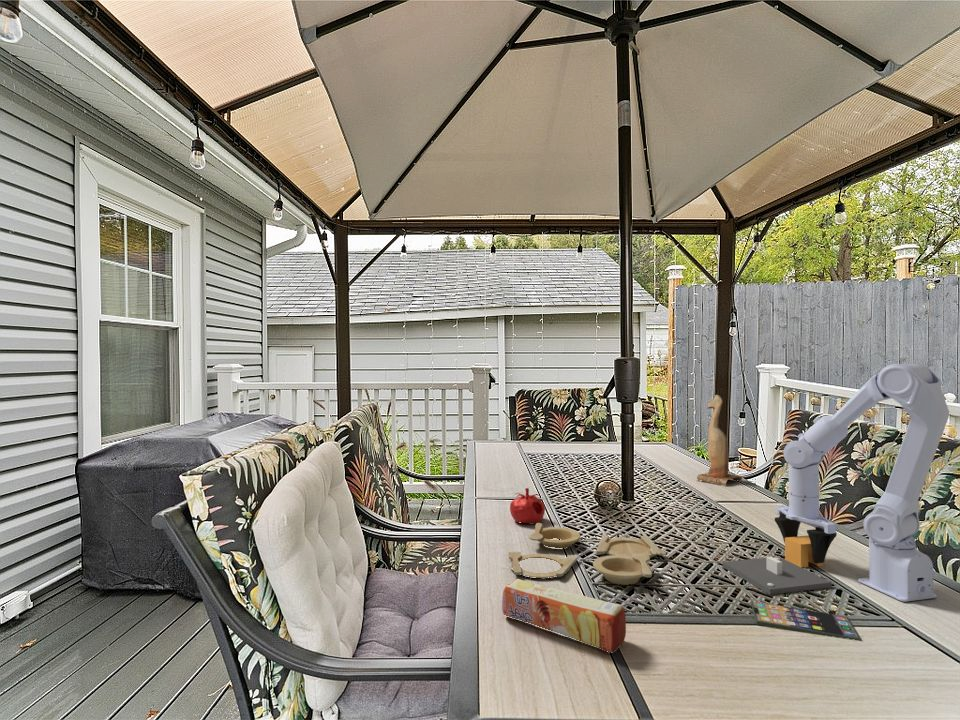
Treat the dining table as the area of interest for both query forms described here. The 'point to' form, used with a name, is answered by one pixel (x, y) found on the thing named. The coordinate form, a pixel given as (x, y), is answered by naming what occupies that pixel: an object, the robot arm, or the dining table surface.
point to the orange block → (799, 551)
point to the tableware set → (616, 568)
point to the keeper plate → (776, 575)
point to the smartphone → (803, 620)
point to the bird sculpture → (717, 449)
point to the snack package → (566, 613)
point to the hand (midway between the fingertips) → (804, 555)
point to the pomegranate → (527, 508)
